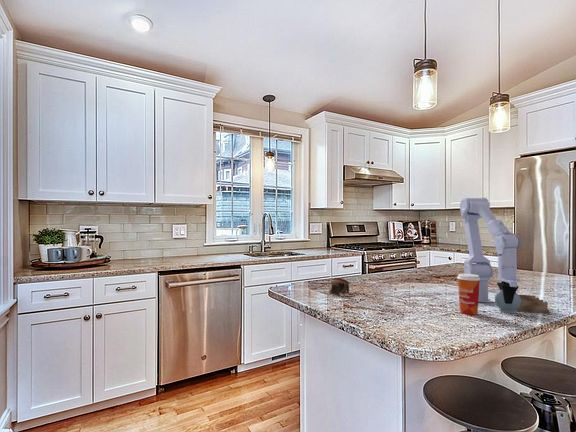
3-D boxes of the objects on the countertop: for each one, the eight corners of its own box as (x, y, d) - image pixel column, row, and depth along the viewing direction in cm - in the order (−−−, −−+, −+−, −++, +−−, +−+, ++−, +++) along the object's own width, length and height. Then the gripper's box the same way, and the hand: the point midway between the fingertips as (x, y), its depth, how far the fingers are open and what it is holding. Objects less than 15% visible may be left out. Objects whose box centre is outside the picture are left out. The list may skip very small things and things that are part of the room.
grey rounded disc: (495, 311, 124) (495, 288, 124) (494, 310, 125) (494, 288, 125) (520, 313, 121) (520, 290, 121) (519, 312, 123) (519, 289, 123)
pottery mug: (324, 293, 156) (328, 277, 160) (340, 301, 159) (344, 285, 162) (338, 292, 146) (342, 274, 149) (355, 300, 148) (359, 283, 152)
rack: (517, 311, 124) (517, 300, 125) (507, 303, 136) (507, 293, 136) (549, 313, 121) (549, 302, 121) (536, 305, 132) (536, 295, 132)
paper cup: (452, 311, 124) (452, 274, 124) (467, 309, 127) (467, 272, 127) (470, 317, 117) (470, 277, 117) (486, 314, 119) (485, 276, 120)
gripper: (527, 269, 115) (527, 308, 115) (513, 264, 129) (513, 299, 129) (503, 268, 117) (504, 307, 117) (492, 263, 131) (492, 297, 131)
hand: (507, 302), depth 123 cm, fingers closed on grey rounded disc, 2 cm apart
